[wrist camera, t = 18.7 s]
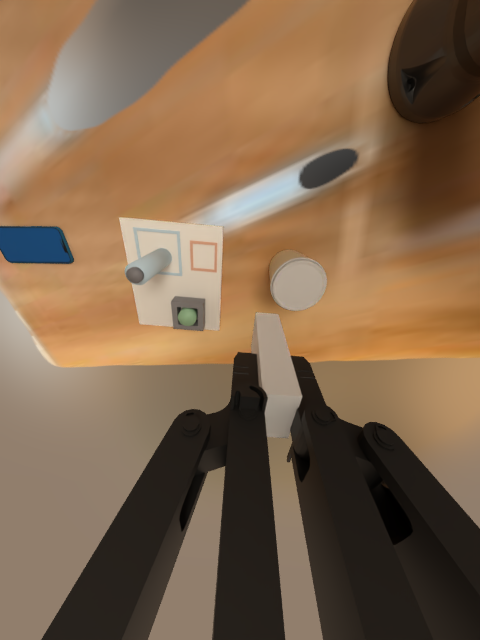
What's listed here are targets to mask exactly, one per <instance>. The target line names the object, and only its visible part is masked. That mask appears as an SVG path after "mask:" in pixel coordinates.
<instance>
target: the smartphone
mask: <svg viewBox="0 0 480 640" xmlns="http://www.w3.org/2000/svg"><path fill="white" fill-rule="evenodd" d="M0 250H1V252H2V254H3V256H4V257H5V259H6V260H7V261H8V262H10V263H62V264H69V263H72V262H73V261H74V259H73V256H72V254H71V251H70V249H69V246H68V244H67V241H66V239H65V236H64V234H63V231H62V230H61V229H60V228H59V227H42V226H37V227H36V226H31V227H20V226H0Z"/></svg>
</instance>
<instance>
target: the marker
mask: <svg viewBox="0 0 480 640" xmlns="http://www.w3.org/2000/svg"><path fill="white" fill-rule="evenodd" d="M171 261H172V256H171V253H170V252H169V251H168V250H167V249H165V248H159V249H157V250H155V251H153V252H151V253H149V254H147V255H145V256H143V257H141V258H139V259H137V260H136V261H134V262H132V263H130V264H128V265H127V266H126V268H125V275H126V277H127V279H128V280H129V281H130V282H131V283H133V284H135V285H143V284H145V283H146V282H147V281H149V280H150V279H151V278H152V277H154V276H155V275H156V274H157V273H159V272H160V271H161V270H163V269H164V268H165V267H166V266H168V265H169V264H170V263H171Z"/></svg>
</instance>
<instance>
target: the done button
mask: <svg viewBox="0 0 480 640" xmlns="http://www.w3.org/2000/svg"><path fill="white" fill-rule="evenodd" d="M197 317H198V310H197V309H195V308H182V309H181V311H180V313H179V314H178V320H179V322H180V323H181V324H182V325H185V326H191V325H193V324H194V323H195V321H196V319H197Z"/></svg>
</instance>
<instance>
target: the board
mask: <svg viewBox="0 0 480 640" xmlns="http://www.w3.org/2000/svg"><path fill="white" fill-rule="evenodd" d="M119 220H120V225H121V230H122V235H123V240H124V246H125V251H126V256H127V261H128V264H130V263H132V262H134V261H136V260H137V259H139V258H141V257H143V256H145V255H147V254H149V253H151V252H153V251H155V250H157V249H159V248H165V249H167V250H168V251H169V252H170V253H171V256H172V261H171V263H170V264H169V265H168V266H166V267H165V268H164V269H163V270H161V271H160V272H159V273H157V274H156V275H155V276H154V277H152V278H151V279H150V280H149V281H147V282H146V283H145V284H143V285H135V284H133V283H132V287H133V292H134V297H135V302H136V308H137V313H138V318H139V323H140V324H145V325H157V326H169V327H173V329H185V330H197V331H203V330H204V329H205V330H217V331H219V330H220V308H221V281H222V254H223V228H224V226H213V225H202V224H191V223H180V222H169V221H159V220H148V219H137V218H126V217H119ZM182 308H195V309H197V310H198V317H197V319H196V321H195V323H194V324H193V325H191V326H185V325H182V324H181V323H180V322H179V320H178V314H179V313H180V311H181V309H182Z"/></svg>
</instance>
